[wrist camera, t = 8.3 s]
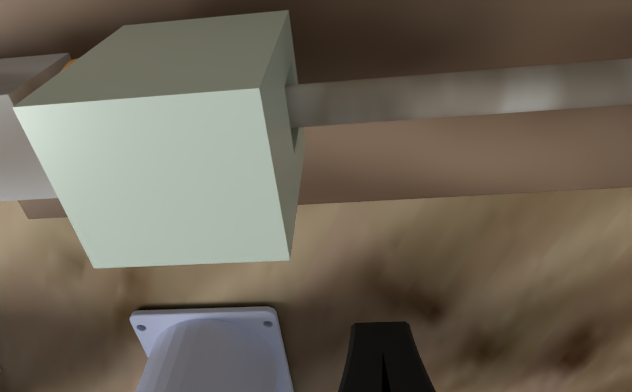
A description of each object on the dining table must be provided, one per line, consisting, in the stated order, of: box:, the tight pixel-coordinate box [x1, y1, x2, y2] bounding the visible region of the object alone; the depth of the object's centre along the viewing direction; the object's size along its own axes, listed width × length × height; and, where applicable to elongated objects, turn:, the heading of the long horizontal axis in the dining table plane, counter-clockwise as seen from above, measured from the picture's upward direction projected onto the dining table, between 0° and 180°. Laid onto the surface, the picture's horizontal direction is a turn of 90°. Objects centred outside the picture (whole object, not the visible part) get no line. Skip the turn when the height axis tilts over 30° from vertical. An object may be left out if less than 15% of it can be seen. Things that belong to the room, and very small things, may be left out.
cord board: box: [0, 0, 632, 219], centre depth 14 cm, size 12×28×6 cm, turn 96°
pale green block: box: [12, 10, 306, 268], centre depth 13 cm, size 4×5×6 cm
